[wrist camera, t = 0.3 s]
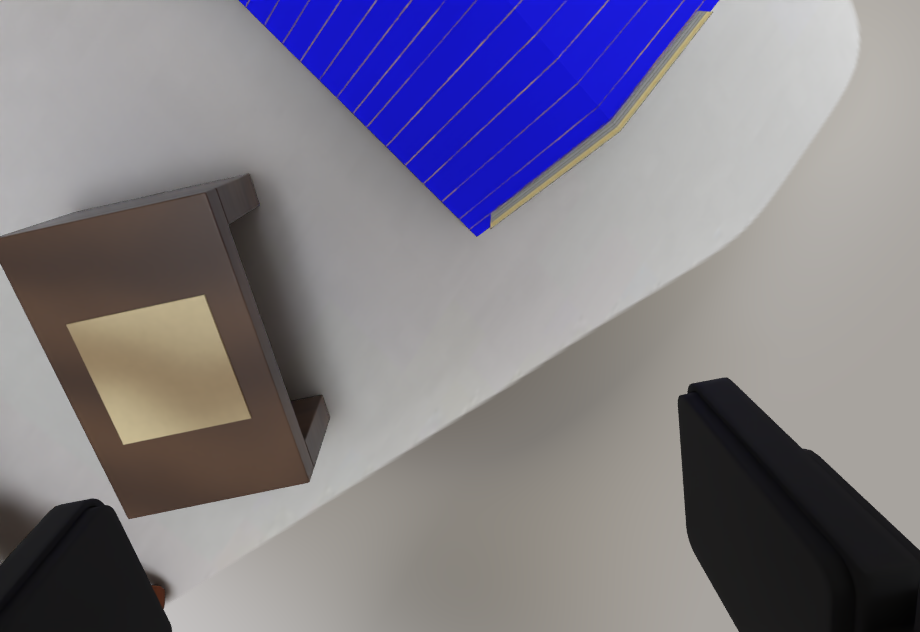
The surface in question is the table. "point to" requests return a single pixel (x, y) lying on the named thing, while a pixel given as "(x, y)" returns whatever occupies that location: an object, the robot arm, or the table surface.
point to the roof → (487, 82)
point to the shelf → (165, 347)
